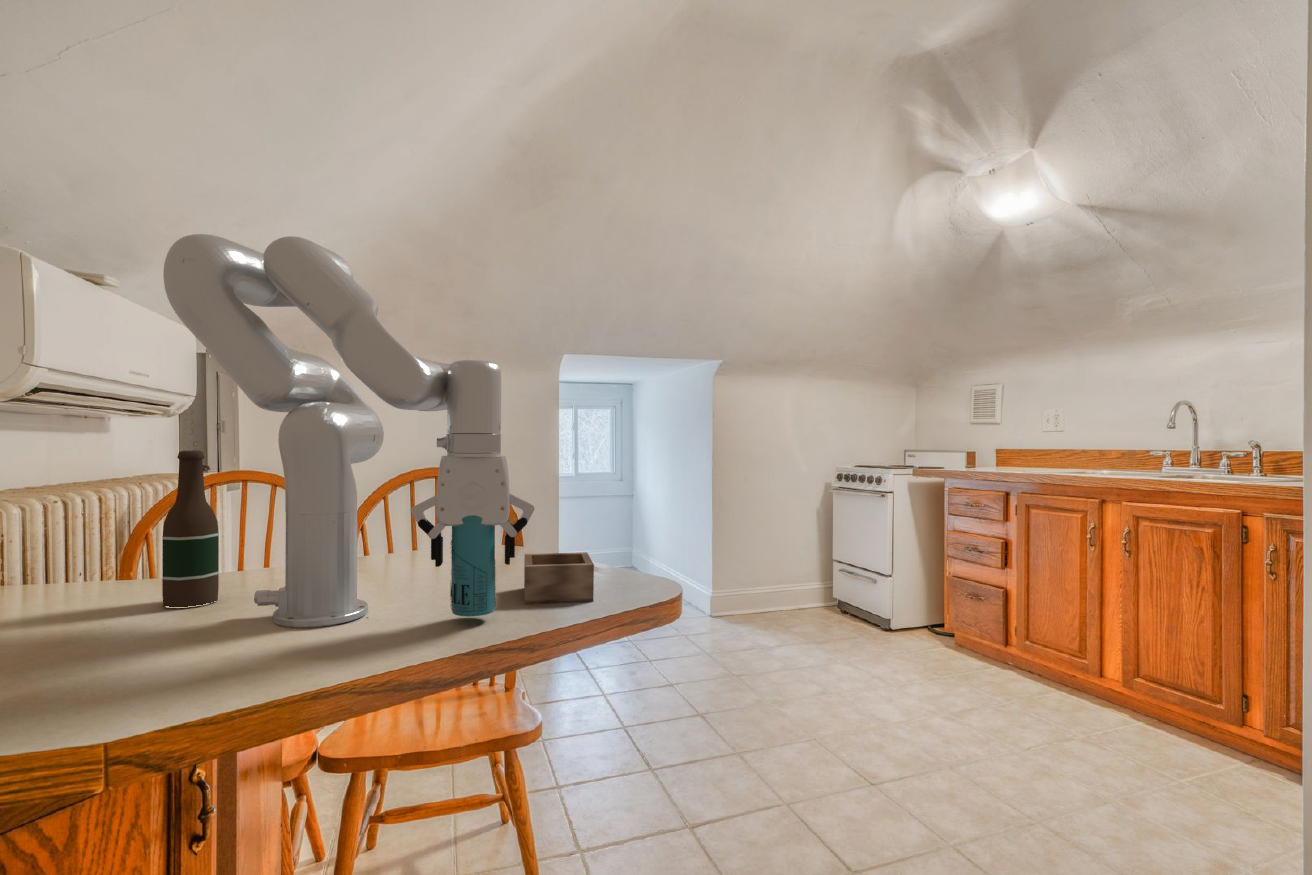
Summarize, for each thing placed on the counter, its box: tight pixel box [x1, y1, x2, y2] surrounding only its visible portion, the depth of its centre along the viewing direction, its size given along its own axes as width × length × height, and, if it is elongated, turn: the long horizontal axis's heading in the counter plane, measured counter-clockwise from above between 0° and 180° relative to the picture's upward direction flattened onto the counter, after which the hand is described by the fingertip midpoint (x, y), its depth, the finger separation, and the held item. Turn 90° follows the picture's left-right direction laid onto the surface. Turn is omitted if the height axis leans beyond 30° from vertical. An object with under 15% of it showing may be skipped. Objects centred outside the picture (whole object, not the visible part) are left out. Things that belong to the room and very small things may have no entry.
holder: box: [523, 551, 595, 605], centre depth 115 cm, size 11×11×6 cm
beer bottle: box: [161, 450, 220, 607], centre depth 106 cm, size 8×8×24 cm
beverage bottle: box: [449, 515, 497, 617], centre depth 99 cm, size 6×7×20 cm
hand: (473, 563), depth 99 cm, fingers open, 9 cm apart
